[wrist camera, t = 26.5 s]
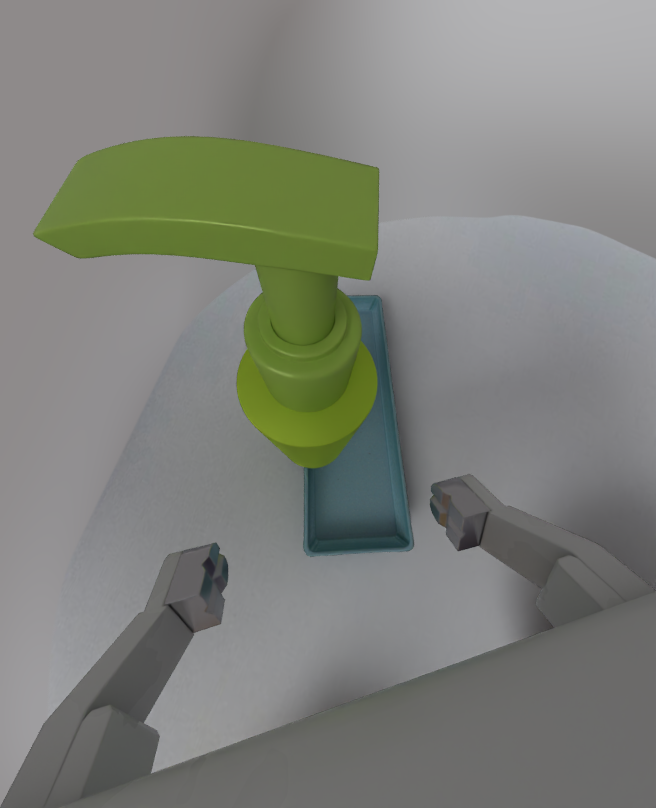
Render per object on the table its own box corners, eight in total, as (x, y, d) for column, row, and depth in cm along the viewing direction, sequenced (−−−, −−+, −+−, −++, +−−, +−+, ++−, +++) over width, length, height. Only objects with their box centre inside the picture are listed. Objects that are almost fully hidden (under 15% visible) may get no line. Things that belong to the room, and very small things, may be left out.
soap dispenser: (274, 401, 24) (94, 56, 5) (346, 407, 24) (465, 94, 5) (265, 464, 22) (-106, 327, 3) (343, 471, 22) (516, 381, 3)
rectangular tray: (303, 307, 30) (302, 292, 28) (377, 307, 31) (382, 292, 28) (304, 549, 22) (303, 557, 20) (405, 544, 22) (415, 551, 20)
